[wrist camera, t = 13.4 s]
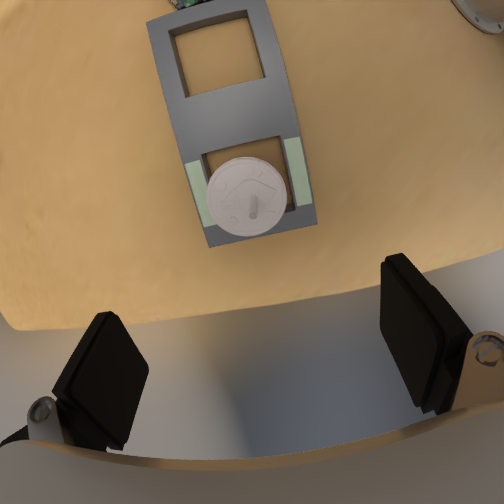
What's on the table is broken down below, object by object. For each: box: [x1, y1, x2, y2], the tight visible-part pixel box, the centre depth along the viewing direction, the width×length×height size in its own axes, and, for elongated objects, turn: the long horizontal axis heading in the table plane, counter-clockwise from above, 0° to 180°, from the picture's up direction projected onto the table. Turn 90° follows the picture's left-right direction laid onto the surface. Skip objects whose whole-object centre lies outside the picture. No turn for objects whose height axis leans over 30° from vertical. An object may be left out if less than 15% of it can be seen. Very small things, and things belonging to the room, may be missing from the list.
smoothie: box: [206, 157, 287, 236], centre depth 25 cm, size 6×6×14 cm
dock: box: [146, 0, 317, 248], centre depth 27 cm, size 12×26×3 cm, turn 13°
